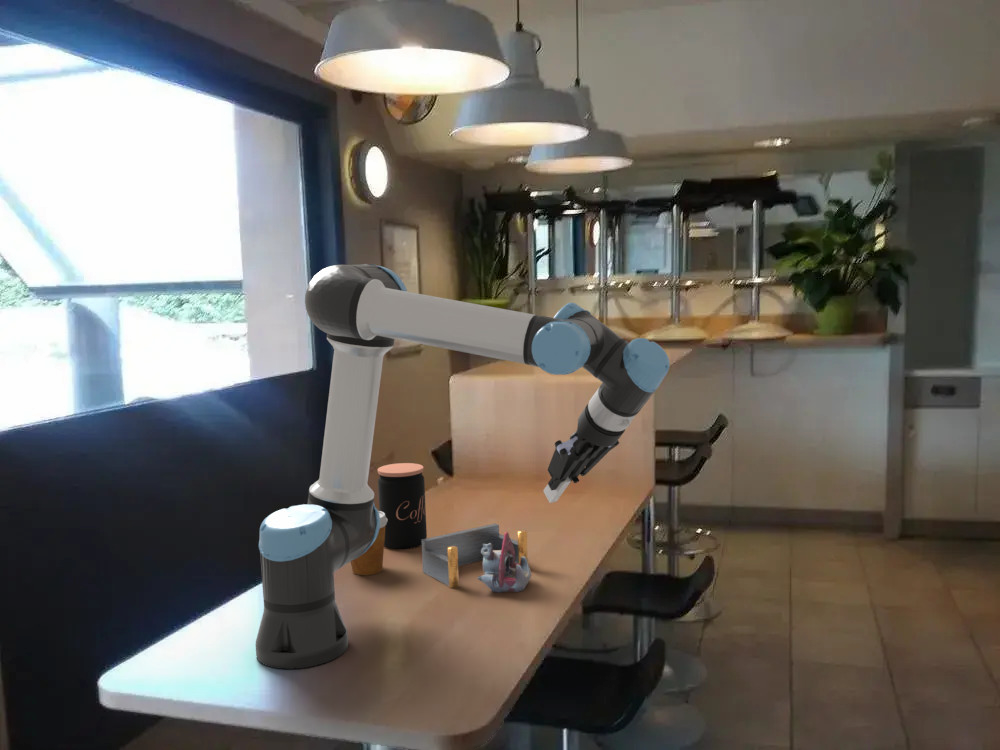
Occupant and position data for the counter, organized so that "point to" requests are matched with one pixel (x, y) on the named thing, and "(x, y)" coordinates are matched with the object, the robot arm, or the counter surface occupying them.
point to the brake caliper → (504, 568)
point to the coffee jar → (403, 504)
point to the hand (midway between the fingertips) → (549, 496)
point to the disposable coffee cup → (372, 553)
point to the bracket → (464, 551)
